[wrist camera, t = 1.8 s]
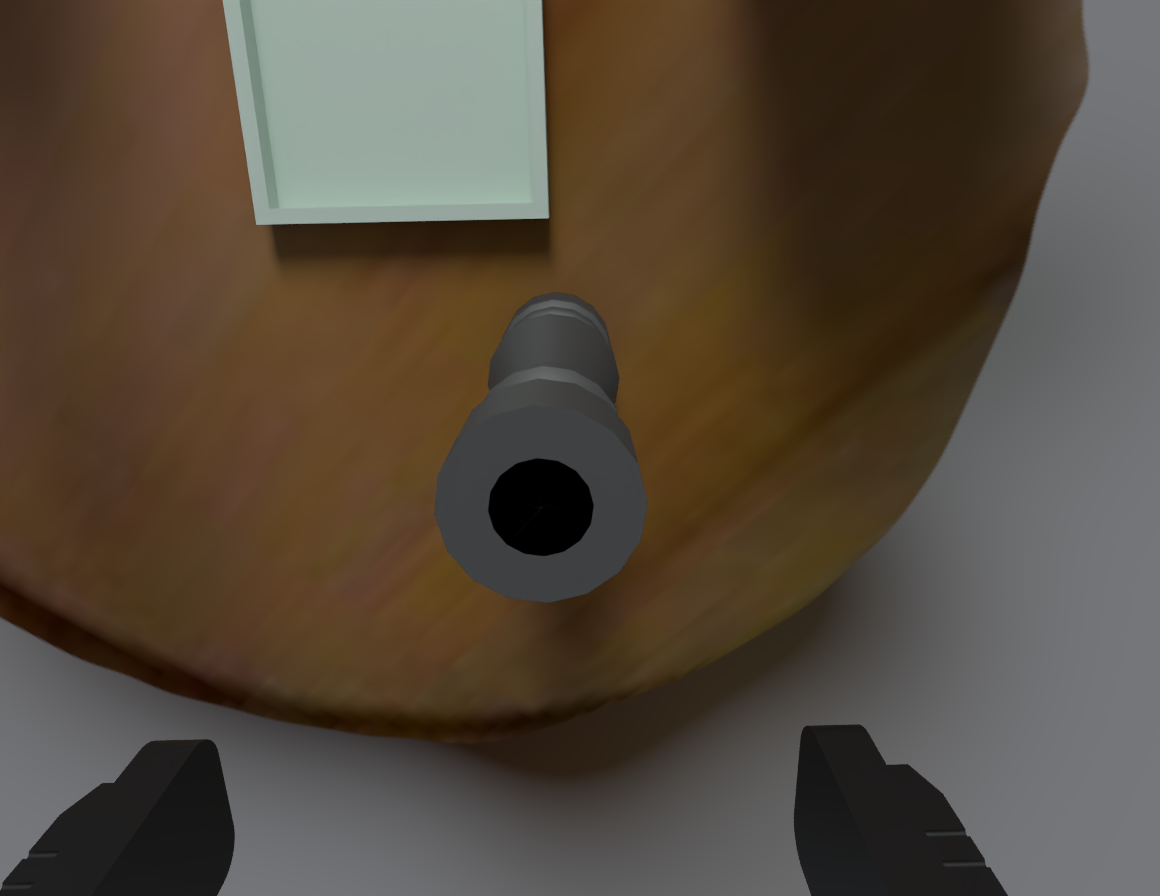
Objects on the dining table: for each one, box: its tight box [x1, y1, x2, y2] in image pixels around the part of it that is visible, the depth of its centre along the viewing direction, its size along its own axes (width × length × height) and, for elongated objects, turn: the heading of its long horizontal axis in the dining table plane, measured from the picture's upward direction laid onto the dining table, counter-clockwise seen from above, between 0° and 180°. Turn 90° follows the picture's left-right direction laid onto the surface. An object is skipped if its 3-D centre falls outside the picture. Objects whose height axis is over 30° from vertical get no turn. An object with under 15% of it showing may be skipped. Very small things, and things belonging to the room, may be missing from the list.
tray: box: [223, 0, 550, 225], centre depth 38 cm, size 16×16×2 cm
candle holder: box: [434, 292, 648, 603], centre depth 31 cm, size 6×6×25 cm
